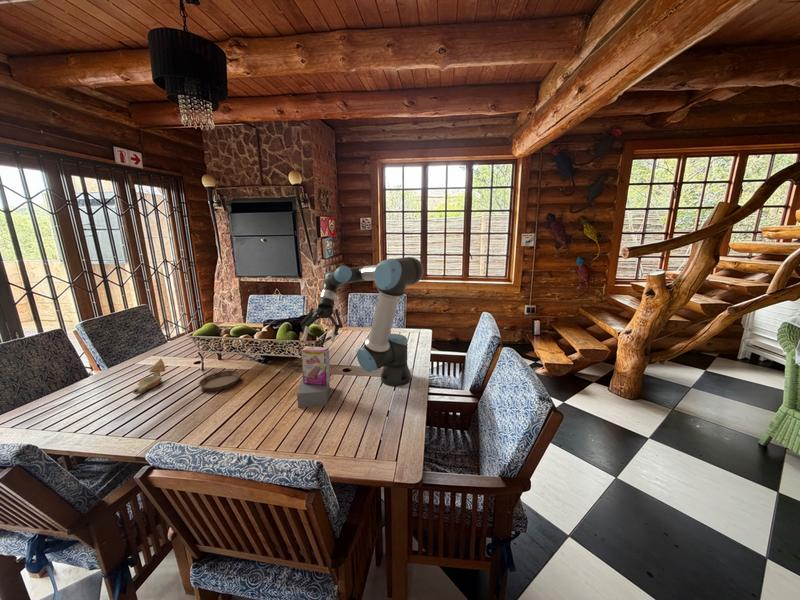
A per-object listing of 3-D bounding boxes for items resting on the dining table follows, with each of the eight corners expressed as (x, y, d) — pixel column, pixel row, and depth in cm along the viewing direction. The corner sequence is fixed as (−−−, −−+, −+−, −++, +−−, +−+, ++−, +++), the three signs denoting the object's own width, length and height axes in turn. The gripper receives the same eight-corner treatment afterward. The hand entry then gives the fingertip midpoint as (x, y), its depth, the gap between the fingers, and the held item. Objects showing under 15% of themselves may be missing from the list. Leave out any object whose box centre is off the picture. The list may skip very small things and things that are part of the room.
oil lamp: (173, 376, 164) (169, 358, 162) (145, 397, 144) (140, 377, 141) (155, 377, 164) (151, 359, 161) (124, 399, 143) (119, 378, 141)
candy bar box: (303, 384, 141) (300, 350, 137) (307, 379, 146) (305, 345, 142) (327, 386, 139) (324, 351, 136) (331, 380, 144) (329, 347, 140)
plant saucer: (192, 387, 153) (190, 382, 152) (226, 373, 168) (225, 367, 167) (214, 396, 145) (213, 390, 144) (248, 380, 160) (247, 374, 159)
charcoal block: (329, 387, 152) (328, 374, 150) (327, 406, 137) (326, 391, 135) (303, 389, 150) (302, 376, 149) (298, 408, 135) (296, 393, 133)
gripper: (353, 305, 159) (346, 344, 148) (305, 304, 162) (295, 342, 151) (349, 297, 153) (342, 337, 142) (300, 296, 156) (289, 335, 145)
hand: (318, 340), depth 147 cm, fingers open, 13 cm apart
